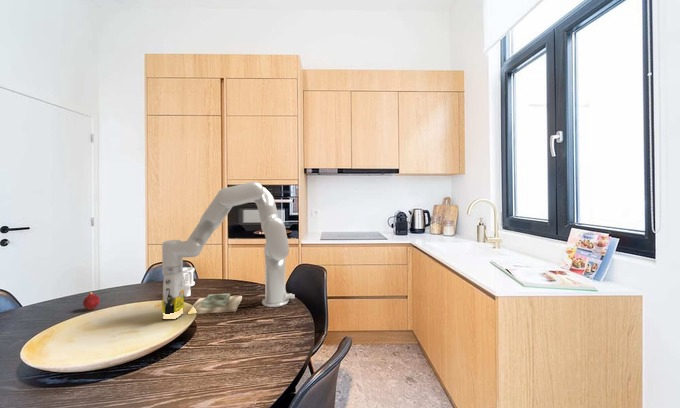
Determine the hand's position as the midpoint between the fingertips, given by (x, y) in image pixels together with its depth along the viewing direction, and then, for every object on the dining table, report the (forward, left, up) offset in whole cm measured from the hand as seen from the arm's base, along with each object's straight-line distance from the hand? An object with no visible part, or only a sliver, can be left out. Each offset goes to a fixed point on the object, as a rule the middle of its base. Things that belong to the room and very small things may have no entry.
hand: (173, 310), depth 121 cm
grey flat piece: (-15, -10, -3) cm, 18 cm away
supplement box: (0, 0, -3) cm, 3 cm away
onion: (+40, -15, -3) cm, 43 cm away
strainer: (+4, -28, -3) cm, 28 cm away
